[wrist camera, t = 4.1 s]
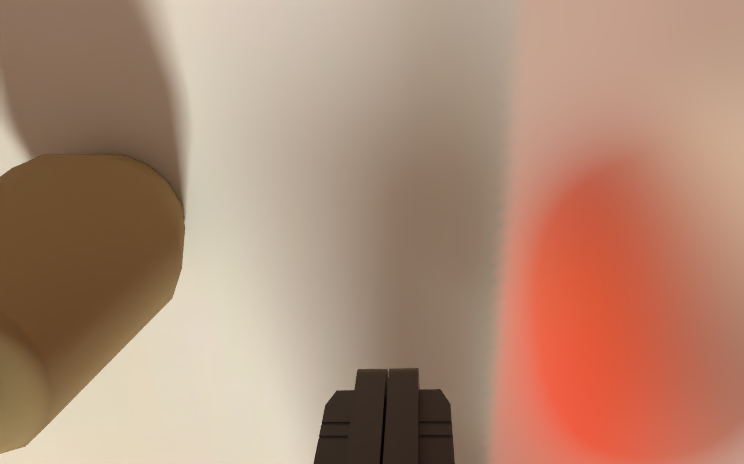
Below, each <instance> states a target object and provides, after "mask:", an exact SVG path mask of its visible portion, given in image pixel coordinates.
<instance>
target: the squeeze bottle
mask: <svg viewBox="0 0 744 464" xmlns="http://www.w3.org/2000/svg"><path fill="white" fill-rule="evenodd" d="M184 234H185V225H184V218H183V211H182V205H181V203H180V201H179V200H178V198H177V196H176V194H175V193H174V191H173V189H172V187H171V186H170V184H169V183H168V182H167V181H166V180H165V179H164V178H163V177H161V176H160V175H159V174H158V173H157V172H156V171H155V170H153V169H152V168H151V167H150V166H149V165H146V164H144V163H142V162H139V161H137V160H134V159H132V158H129V157H127V156H124V155H76V154H44V155H42V156H39V157H37V158H35V159H32V160H30V161H28V162H25V163H23V164H21V165H18V166H16V167H14V168H12V169H10V170H9V171H7V172H6V173H5V174H3V175H2V176H1V177H0V454H1V453H4V452H8V451H11V450H14V449H18V448H21V447H25V446H26V445H27V444H28V443H29V442H30V441H31V440H32V439H33V438H34V437H36V436H37V435H38V434H39V433H40V432H41V431H42V430H43V429H44V428H45V427H46V426H47V425H48V424H49V423H50V422H51V421H52V420H53V419H54V418H55V417H56V416H57V415H58V414H59V413H60V412H61V411H62V410H63V409H64V408H65V407H66V406H67V405H68V404H69V403H70V402H71V400H72V399H73V398H74V397H75V396H76V395H77V394H78V393H79V392H80V391H81V390H82V389H83V388H84V387H85V386H86V385H87V384H88V383H89V382H90V381H91V380H92V379H93V378H94V377H95V376H96V375H97V374H98V373H99V372H100V371H101V370H102V369H103V368H104V367H105V366H106V365H107V364H108V363H109V362H110V361H111V360H112V359H113V358H114V357H115V356H116V355H117V354H118V353H119V352H120V351H121V350H122V349H123V348H124V347H125V346H126V345H127V344H128V343H129V342H130V341H131V340H132V339H133V338H134V336H135V335H136V334H137V333H138V332H139V331H140V330H141V329H142V328H143V327H144V326H145V325H146V324H147V323H148V322H149V321H150V320H151V319H152V318H153V317H154V316H155V315H156V314H157V313H158V312H159V311H160V310H161V309H162V308H163V307H164V306H165V305H166V304H167V303H168V302H169V301H170V300H171V299H172V297H173V294H174V291H175V288H176V285H177V282H178V278H179V275H180V272H181V269H182V258H183V246H184Z"/></svg>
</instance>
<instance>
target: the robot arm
mask: <svg viewBox="0 0 744 464" xmlns="http://www.w3.org/2000/svg"><path fill="white" fill-rule="evenodd" d="M314 464H455V462H454V449H453V435H452V421H451V408H450V403H449V402H448V400H447V399H446V397H445V396H444V394H443V393H442V391H441V390H440V389H436V390H419V370H418V368H404V369H389V377H388V370H387V369H358V371H357V377H356V384H355V390H345V391H336V392H335V394H334V395H333V396H332V397H331V399H330V400H329V401H328V403H327V404H326V405H325V410H324V415H323V420H322V425H321V430H320V435H319V440H318V444H317V449H316V454H315V459H314Z"/></svg>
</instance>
